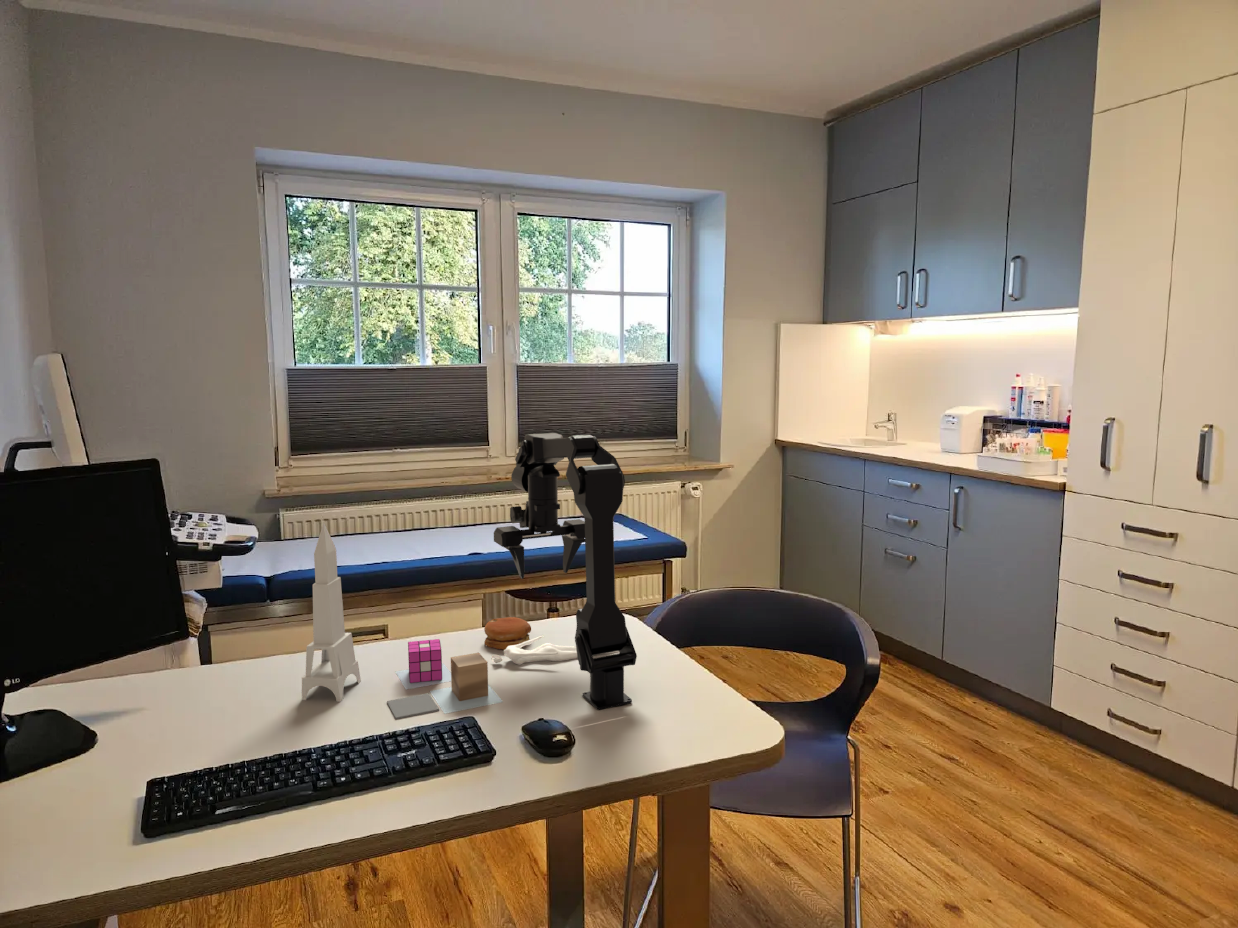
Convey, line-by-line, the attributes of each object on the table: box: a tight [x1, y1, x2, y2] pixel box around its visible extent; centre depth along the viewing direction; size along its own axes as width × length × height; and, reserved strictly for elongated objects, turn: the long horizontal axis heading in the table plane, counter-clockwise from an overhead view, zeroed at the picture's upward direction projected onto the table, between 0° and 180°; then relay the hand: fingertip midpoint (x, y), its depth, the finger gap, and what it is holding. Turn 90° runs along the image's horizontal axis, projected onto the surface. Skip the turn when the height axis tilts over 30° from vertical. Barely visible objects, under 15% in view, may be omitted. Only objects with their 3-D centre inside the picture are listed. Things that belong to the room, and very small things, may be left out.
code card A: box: [429, 684, 504, 715], centre depth 138 cm, size 10×10×1 cm
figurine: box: [491, 634, 619, 665], centre depth 157 cm, size 10×4×25 cm
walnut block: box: [450, 652, 489, 701], centre depth 139 cm, size 5×5×6 cm
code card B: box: [395, 662, 451, 691], centre depth 147 cm, size 9×9×1 cm
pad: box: [386, 692, 440, 720], centre depth 134 cm, size 7×7×1 cm
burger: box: [483, 616, 532, 651], centre depth 164 cm, size 10×9×5 cm
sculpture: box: [301, 522, 362, 703], centre depth 139 cm, size 7×8×30 cm
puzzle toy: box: [407, 638, 443, 683], centre depth 147 cm, size 6×6×6 cm
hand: (543, 575), depth 160 cm, fingers open, 9 cm apart
